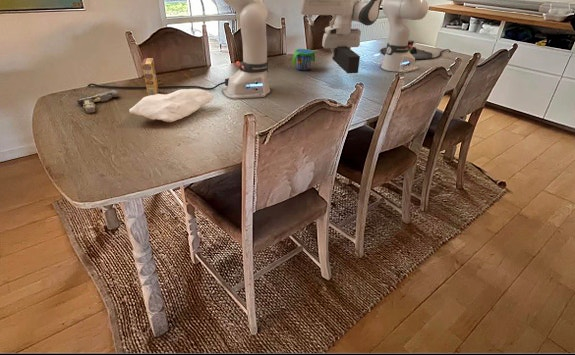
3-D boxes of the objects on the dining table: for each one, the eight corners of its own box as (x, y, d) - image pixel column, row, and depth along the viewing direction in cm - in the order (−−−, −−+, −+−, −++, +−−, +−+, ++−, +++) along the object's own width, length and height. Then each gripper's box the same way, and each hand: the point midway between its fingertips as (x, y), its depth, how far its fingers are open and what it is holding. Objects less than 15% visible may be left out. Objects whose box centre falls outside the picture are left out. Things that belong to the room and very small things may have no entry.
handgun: (128, 97, 156) (111, 87, 164) (86, 107, 144) (70, 97, 152) (129, 103, 157) (113, 94, 165) (88, 114, 146) (72, 103, 154)
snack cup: (308, 65, 218) (310, 47, 212) (319, 69, 210) (321, 51, 205) (287, 68, 210) (287, 50, 205) (297, 73, 203) (298, 54, 197)
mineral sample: (442, 55, 248) (445, 41, 243) (409, 61, 230) (411, 46, 226) (402, 47, 272) (404, 34, 268) (369, 52, 255) (370, 39, 251)
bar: (358, 73, 182) (360, 56, 177) (347, 73, 181) (349, 56, 176) (341, 58, 203) (343, 43, 198) (332, 59, 202) (333, 43, 197)
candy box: (157, 97, 164) (152, 63, 155) (147, 98, 163) (141, 63, 155) (158, 91, 171) (153, 57, 163) (149, 91, 170) (143, 58, 162)
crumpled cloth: (117, 110, 146) (113, 90, 140) (195, 92, 166) (194, 73, 160) (143, 139, 134) (140, 118, 128) (223, 116, 154) (224, 96, 148)
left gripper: (344, -9, 166) (340, 24, 173) (300, -10, 162) (298, 24, 169) (348, -7, 161) (344, 26, 168) (304, -8, 157) (302, 26, 164)
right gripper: (359, 27, 194) (355, 53, 201) (322, 28, 190) (320, 55, 198) (363, 29, 188) (360, 56, 196) (325, 30, 185) (323, 58, 193)
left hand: (321, 25), depth 169 cm, fingers open, 8 cm apart
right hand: (339, 55), depth 197 cm, fingers closed on bar, 5 cm apart
